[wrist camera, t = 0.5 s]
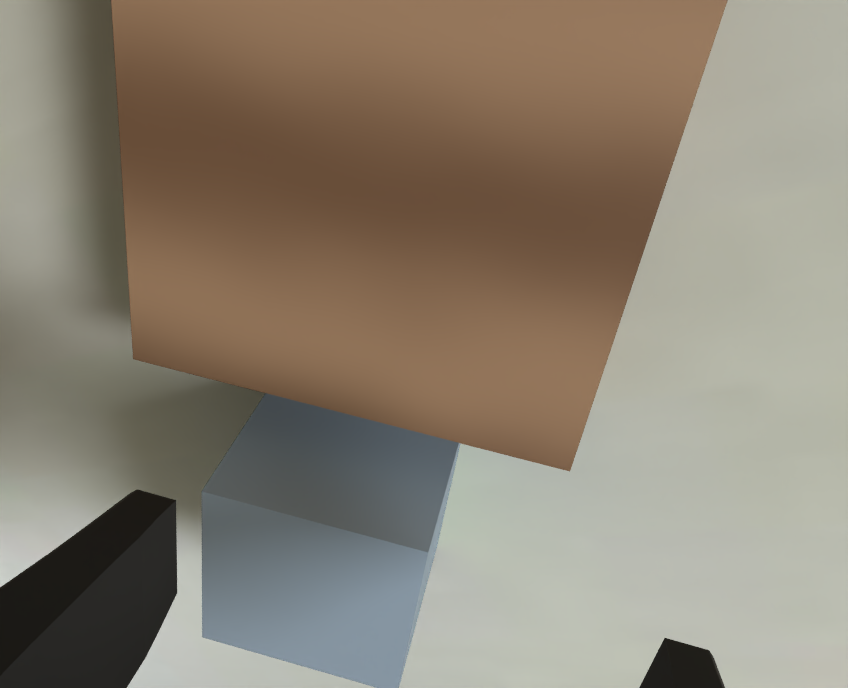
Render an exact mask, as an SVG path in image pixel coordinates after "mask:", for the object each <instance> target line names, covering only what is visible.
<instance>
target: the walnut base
mask: <svg viewBox="0 0 848 688" xmlns="http://www.w3.org/2000/svg"><path fill="white" fill-rule="evenodd" d="M727 1H728V0H111V5H112V22H113V38H114V54H115V70H116V87H117V103H118V119H119V136H120V152H121V168H122V185H123V201H124V217H125V233H126V250H127V266H128V282H129V299H130V315H131V331H132V348H133V359H135V360H139V361H143V362H146V363H150V364H154V365H158V366H162V367H166V368H170V369H174V370H178V371H181V372H185V373H189V374H193V375H197V376H201V377H205V378H209V379H213V380H216V381H220V382H224V383H228V384H232V385H236V386H240V387H244V388H248V389H252V390H255V391H259V392H263V393H267V394H271V395H275V396H279V397H283V398H287V399H290V400H294V401H298V402H302V403H306V404H310V405H314V406H318V407H322V408H325V409H329V410H333V411H337V412H341V413H345V414H349V415H353V416H357V417H360V418H364V419H368V420H372V421H376V422H380V423H384V424H388V425H392V426H396V427H399V428H403V429H407V430H411V431H415V432H419V433H423V434H427V435H431V436H434V437H438V438H442V439H446V440H450V441H454V442H458V443H462V444H466V445H469V446H473V447H477V448H481V449H485V450H489V451H493V452H497V453H501V454H504V455H508V456H512V457H516V458H520V459H524V460H528V461H532V462H536V463H540V464H543V465H547V466H551V467H555V468H559V469H563V470H567V471H570V469H571V466H572V463H573V461H574V458H575V455H576V452H577V449H578V446H579V443H580V440H581V437H582V434H583V431H584V428H585V425H586V422H587V419H588V416H589V413H590V410H591V407H592V404H593V401H594V398H595V395H596V392H597V389H598V386H599V383H600V380H601V377H602V374H603V371H604V368H605V365H606V362H607V359H608V356H609V353H610V350H611V347H612V344H613V341H614V338H615V335H616V332H617V329H618V326H619V323H620V320H621V317H622V314H623V311H624V308H625V305H626V302H627V299H628V296H629V293H630V290H631V287H632V284H633V281H634V278H635V275H636V272H637V269H638V266H639V263H640V260H641V257H642V254H643V251H644V248H645V245H646V242H647V239H648V236H649V233H650V231H651V228H652V225H653V222H654V219H655V216H656V213H657V210H658V207H659V204H660V201H661V198H662V195H663V192H664V189H665V186H666V183H667V180H668V177H669V174H670V171H671V168H672V165H673V162H674V159H675V156H676V153H677V150H678V147H679V144H680V141H681V138H682V135H683V132H684V129H685V126H686V123H687V120H688V117H689V114H690V111H691V108H692V105H693V102H694V99H695V96H696V93H697V90H698V87H699V84H700V81H701V78H702V75H703V72H704V69H705V66H706V63H707V60H708V57H709V54H710V51H711V48H712V45H713V42H714V39H715V36H716V33H717V30H718V27H719V24H720V21H721V18H722V15H723V12H724V9H725V6H726V3H727Z"/></svg>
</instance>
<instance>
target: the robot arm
mask: <svg viewBox="0 0 848 688" xmlns="http://www.w3.org/2000/svg"><path fill="white" fill-rule="evenodd" d="M176 594H177V547H176V500H173V499H169V498H166V497H162V496H158V495H155V494H151V493H148V492H144V491H141V490H135V491H134V492H132V493H130V494H129V495H127V496H126V497H125V498H123V499H122V500H121V501H119V502H118V503H117V504H115V505H114V506H113V507H111V508H110V509H109V510H107V511H106V512H105V513H103V514H102V515H101V516H99V517H98V518H97V519H95V520H94V521H93V522H91V523H90V524H89V525H87V526H86V527H85V528H83V529H82V530H81V531H79V532H78V533H76V534H75V535H74V536H72V537H71V538H70V539H68V540H67V541H66V542H64V543H63V544H61V545H60V546H59V547H57V548H56V549H55V550H53V551H52V552H50V553H49V554H48V555H46V556H45V557H43V558H42V559H40V560H39V561H38V562H36V563H35V564H33V565H32V566H30V567H29V568H28V569H26V570H25V571H23V572H22V573H20V574H19V575H18V576H16V577H15V578H13V579H12V580H10V581H9V582H7V583H6V584H5V585H3V586H2V587H0V688H127V686H128V685H129V683H130V681H131V680H132V678H133V677H134V675H135V674H136V672H137V670H138V669H139V667H140V665H141V664H142V662H143V661H144V659H145V657H146V655H147V653H148V651H149V649H150V648H151V646H152V644H153V642H154V640H155V638H156V636H157V634H158V632H159V630H160V628H161V626H162V623H163V621H164V619H165V617H166V615H167V613H168V611H169V609H170V607H171V605H172V602H173V600H174V598H175V596H176ZM640 688H725V687H724V684H723V681H722V679H721V676H720V673H719V671H718V668H717V665H716V663H715V660H714V658H713V656H712V654H711V653H710V651H709V650H706V649H702V648H699V647H695V646H692V645H688V644H685V643H681V642H677V641H674V640H670V639H667V638H665V639H664V641H663V643H662V644H661V646H660V648H659V650H658V652H657V654H656V656H655V658H654V660H653V662H652V664H651V666H650V668H649V670H648V672H647V674H646V676H645V678H644V680H643V682H642V684H641V686H640Z"/></svg>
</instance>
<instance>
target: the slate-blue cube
mask: <svg viewBox="0 0 848 688" xmlns="http://www.w3.org/2000/svg"><path fill="white" fill-rule="evenodd" d="M459 447H460V443H458V442H454V441H450V440H446V439H442V438H438V437H434V436H431V435H427V434H423V433H419V432H415V431H411V430H407V429H403V428H399V427H396V426H392V425H388V424H384V423H380V422H376V421H372V420H368V419H364V418H360V417H357V416H353V415H349V414H345V413H341V412H337V411H333V410H329V409H325V408H322V407H318V406H314V405H310V404H306V403H302V402H298V401H294V400H290V399H287V398H283V397H279V396H275V395H271V394H267V393H265V395H264V396H263V398H262V399H261V401H260V402H259V404H258V406H257V407H256V409H255V410H254V412H253V413H252V415H251V416H250V418H249V419H248V421H247V422H246V424H245V425H244V427H243V429H242V430H241V432H240V433H239V435H238V436H237V438H236V439H235V441H234V442H233V444H232V445H231V447H230V448H229V450H228V452H227V453H226V455H225V456H224V458H223V459H222V461H221V462H220V464H219V465H218V467H217V468H216V470H215V472H214V473H213V475H212V476H211V478H210V479H209V481H208V482H207V484H206V485H205V487H204V488H203V490H202V637H203V638H207V639H210V640H214V641H217V642H221V643H224V644H228V645H231V646H235V647H238V648H241V649H245V650H248V651H252V652H255V653H259V654H262V655H266V656H269V657H273V658H276V659H280V660H283V661H287V662H290V663H293V664H297V665H300V666H304V667H307V668H311V669H314V670H318V671H321V672H325V673H328V674H332V675H335V676H339V677H342V678H345V679H349V680H352V681H356V682H359V683H363V684H366V685H370V686H373V687H377V688H399V685H400V681H401V678H402V674H403V670H404V666H405V663H406V659H407V655H408V652H409V648H410V644H411V641H412V637H413V633H414V629H415V626H416V622H417V618H418V615H419V611H420V607H421V603H422V600H423V596H424V592H425V589H426V585H427V581H428V577H429V574H430V570H431V566H432V563H433V559H434V555H435V552H436V548H437V544H438V539H439V535H440V531H441V526H442V522H443V517H444V513H445V509H446V504H447V500H448V495H449V491H450V487H451V482H452V478H453V474H454V469H455V465H456V460H457V456H458V452H459Z"/></svg>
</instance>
